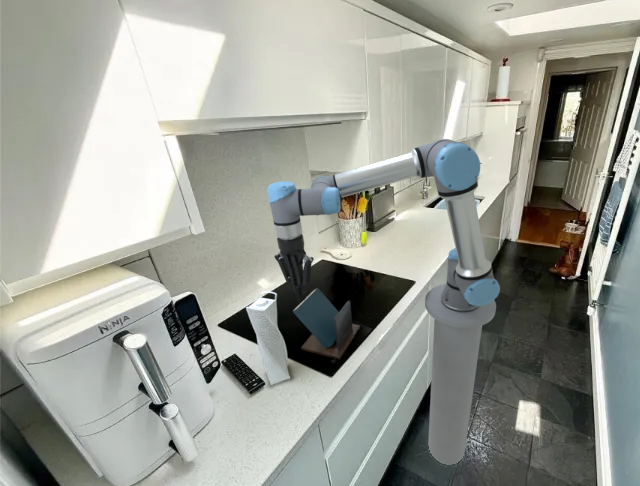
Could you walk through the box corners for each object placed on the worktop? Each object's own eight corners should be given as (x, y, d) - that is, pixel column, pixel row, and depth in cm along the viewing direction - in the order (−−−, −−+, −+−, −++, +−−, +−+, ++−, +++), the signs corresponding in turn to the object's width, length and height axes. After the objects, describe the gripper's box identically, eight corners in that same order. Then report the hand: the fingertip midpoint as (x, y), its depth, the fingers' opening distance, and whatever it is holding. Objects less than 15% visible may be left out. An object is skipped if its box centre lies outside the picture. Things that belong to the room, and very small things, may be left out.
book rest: (360, 327, 109) (357, 296, 103) (339, 359, 95) (335, 326, 90) (325, 320, 113) (321, 290, 108) (301, 349, 100) (294, 317, 94)
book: (347, 322, 107) (317, 287, 105) (331, 345, 97) (297, 307, 95) (342, 325, 109) (312, 291, 106) (325, 348, 99) (292, 311, 96)
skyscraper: (291, 362, 95) (274, 284, 83) (296, 379, 89) (278, 298, 77) (264, 371, 92) (242, 293, 80) (268, 389, 86) (244, 307, 74)
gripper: (315, 232, 92) (324, 298, 103) (279, 228, 96) (291, 292, 107) (301, 242, 86) (312, 311, 97) (263, 237, 90) (278, 304, 101)
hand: (301, 301), depth 102 cm, fingers closed
